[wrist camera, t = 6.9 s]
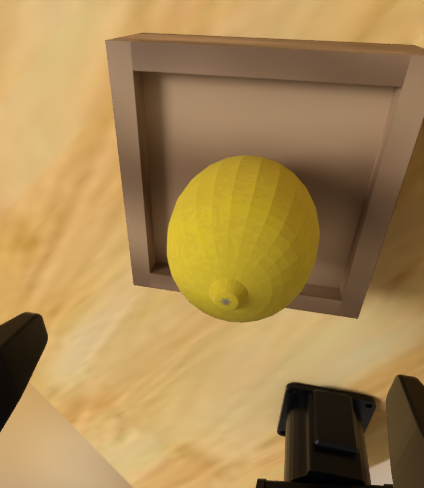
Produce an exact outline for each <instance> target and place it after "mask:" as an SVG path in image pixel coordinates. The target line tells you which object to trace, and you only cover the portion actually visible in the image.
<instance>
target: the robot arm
mask: <svg viewBox="0 0 424 488" xmlns="http://www.w3.org/2000/svg"><path fill="white" fill-rule="evenodd" d="M47 341H48V334H47V331H46V327H45V324H44V321H43V318H42V316H41V315H40V314H37V313H31V312H24V313H22V314H20V315H18V316H16V317H15V318H13V319H11V320H9V321H7V322H5V323H4V324H2V325H0V432H1V430H2V429H3V427H4V425H5V423H6V422H7V420H8V419H9V417H10V415H11V414H12V412H13V410H14V409H15V407H16V405H17V403H18V402H19V400H20V398H21V396H22V394H23V392H24V390H25V389H26V387H27V384H28V382H29V380H30V378H31V376H32V374H33V372H34V370H35V368H36V365H37V363H38V361H39V359H40V357H41V355H42V353H43V351H44V348H45V346H46V344H47ZM375 408H376V403H375V400H374V399H373V398H371V397H367V396H361V395H356V394H350V393H345V392H339V391H334V390H328V389H323V388H317V387H311V386H306V385H300V384H295V383H290V384H287V386H286V389H285V394H284V399H283V403H282V408H281V413H280V418H279V422H278V427H277V433H278V434H279V435H281V436H285V465H284V481H269V480H266V479H258V480H257V485H256V488H424V385H423V384H422V383H421V382H420V381H419V380H418V379H417V378H415V377H412V376H406V375H397V376H396V377H395V379H394V381H393V383H392V386H391V388H390V390H389V392H388V394H387V398H386V413H387V426H388V439H389V451H390V463H391V473H392V479H393V484H384V486H379V485H371V480H370V473H369V466H368V459H367V452H366V445H365V438H364V433H365V431H366V428H367V426H368V424H369V422H370V419H371V417H372V415H373V412H374V410H375ZM393 485H394V487H393Z"/></svg>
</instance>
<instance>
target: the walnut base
mask: <svg viewBox="0 0 424 488" xmlns="http://www.w3.org/2000/svg"><path fill="white" fill-rule="evenodd" d="M105 41H106V50H107V59H108V67H109V76H110V85H111V93H112V102H113V110H114V119H115V128H116V136H117V145H118V154H119V162H120V171H121V179H122V188H123V197H124V205H125V214H126V223H127V231H128V240H129V248H130V257H131V266H132V274H133V283H134V285H137V286H144V287H151V288H157V289H164V290H171V291H177V292H180V290H179V288H178V286H177V284H176V283H175V281H174V279H173V277H172V275H171V271H170V267H169V263H168V258H167V233H168V226H169V222H170V219H171V216H172V213H173V210H174V207H175V204H176V202H177V200H178V198H179V196H180V195H181V193H182V192H183V191H184V189H185V188H186V187H187V185H188V184H189V182H190V181H191V180H192V179H193V178H194V177H195V176H196V175H198V174H199V173H200V172H202V171H203V170H204V169H205V168H207V167H208V166H209V165H211V164H214V163H216V162H218V161H221V160H223V159H225V158H228V157H235V156H242V155H250V156H260V157H264V158H267V159H270V160H273V161H276V162H278V163H280V164H281V165H283V166H284V167H286V168H287V169H289V170H290V171H292V172H293V173H294V174H295V175H296V176H297V177H298V179H299V180H300V181H301V182H302V183H303V184H304V185H305V187H306V188H307V190H308V192H309V194H310V196H311V198H312V200H313V202H314V205H315V207H316V211H317V217H318V223H319V230H320V238H319V244H318V251H317V257H316V261H315V265H314V267H313V270H312V272H311V274H310V276H309V278H308V280H307V282H306V284H305V286H304V288H303V290H302V291H301V292H300V293H299V294H298V296H297V297H296V298H295V299H294V300H293V301H292V302H291V303H290V304H289V305H288V306H287V307H285V308H290V309H297V310H303V311H310V312H317V313H323V314H330V315H337V316H343V317H350V318H356V319H358V317H359V314H360V311H361V308H362V304H363V301H364V298H365V295H366V292H367V289H368V286H369V283H370V280H371V277H372V274H373V271H374V268H375V265H376V262H377V259H378V256H379V252H380V249H381V246H382V243H383V240H384V237H385V234H386V231H387V228H388V225H389V222H390V219H391V216H392V213H393V210H394V207H395V204H396V200H397V197H398V194H399V191H400V188H401V185H402V182H403V179H404V176H405V173H406V170H407V167H408V164H409V161H410V158H411V155H412V152H413V149H414V145H415V142H416V139H417V136H418V133H419V130H420V127H421V124H422V121H423V118H424V49H422V48H420V47H417V46H415V45H401V44H378V43H356V42H334V41H312V40H289V39H267V38H245V37H222V36H200V35H178V34H155V33H139V34H134V35H129V36H124V37H120V38H115V39H110V40H105Z"/></svg>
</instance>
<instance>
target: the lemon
mask: <svg viewBox="0 0 424 488" xmlns="http://www.w3.org/2000/svg"><path fill="white" fill-rule="evenodd" d="M319 238H320V230H319V223H318V217H317V211H316V207H315V205H314V202H313V200H312V198H311V196H310V194H309V192H308V190H307V188H306V187H305V185H304V184H303V183H302V182H301V181H300V180H299V179H298V177H297V176H296V175H295V174H294V173H293V172H292V171H290V170H289V169H287V168H286V167H284V166H283V165H281V164H280V163H278V162H276V161H273V160H270V159H267V158H264V157H260V156H250V155H242V156H235V157H228V158H225V159H223V160H221V161H218V162H216V163H214V164H211V165H209V166H208V167H207V168H205V169H204V170H203V171H202V172H200V173H199V174H198V175H196V176H195V177H194V178H193V179H192V180H191V181H190V182H189V184H188V185H187V187H186V188H185V189H184V191H183V192H182V193H181V195H180V196H179V198H178V200H177V202H176V204H175V207H174V210H173V213H172V216H171V219H170V222H169V226H168V233H167V258H168V263H169V267H170V271H171V275H172V277H173V279H174V281H175V283H176V284H177V286H178V288H179V290H180V292H181V293H182V294H183V295H184V296H185V297H186V298H187V299H188V301H189V302H190V303H191V304H193V305H194V306H195V307H197V308H198V309H199V310H201V311H202V312H204V313H206V314H208V315H210V316H212V317H214V318H217V319H221V320H225V321H229V322H250V321H257V320H261V319H264V318H267V317H269V316H272V315H274V314H276V313H277V312H279V311H280V310H282V309H284V308H285V307H287V306H288V305H289V304H290V303H291V302H292V301H293V300H294V299H295V298H296V297H297V296H298V294H299V293H300V292H301V291H302V290H303V288H304V286H305V284H306V282H307V280H308V278H309V276H310V274H311V272H312V270H313V267H314V265H315V261H316V257H317V251H318V244H319Z"/></svg>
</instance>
